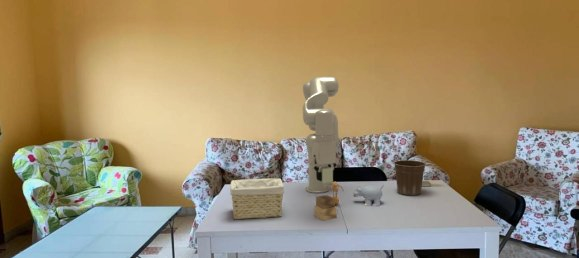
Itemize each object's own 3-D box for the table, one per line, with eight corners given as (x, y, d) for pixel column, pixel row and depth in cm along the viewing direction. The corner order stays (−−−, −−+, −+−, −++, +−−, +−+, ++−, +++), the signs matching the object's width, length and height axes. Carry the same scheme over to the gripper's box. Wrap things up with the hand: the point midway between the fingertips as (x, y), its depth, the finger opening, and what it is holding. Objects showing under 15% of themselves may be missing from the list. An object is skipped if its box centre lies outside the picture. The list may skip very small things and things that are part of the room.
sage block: (326, 179, 174) (326, 165, 174) (332, 181, 170) (332, 167, 169) (317, 180, 172) (316, 167, 171) (323, 182, 168) (323, 169, 167)
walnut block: (327, 203, 176) (327, 194, 176) (334, 207, 171) (334, 198, 170) (316, 205, 174) (316, 196, 173) (322, 209, 168) (322, 200, 168)
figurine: (342, 203, 192) (342, 179, 190) (344, 206, 186) (344, 182, 184) (326, 203, 192) (325, 179, 190) (327, 207, 186) (326, 182, 184)
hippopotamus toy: (353, 199, 198) (353, 180, 197) (383, 199, 196) (383, 181, 194) (353, 205, 188) (353, 186, 186) (385, 206, 185) (385, 187, 184)
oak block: (327, 213, 178) (327, 202, 177) (336, 217, 172) (336, 206, 171) (314, 216, 174) (314, 205, 174) (323, 220, 168) (323, 209, 168)
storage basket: (281, 206, 189) (280, 177, 187) (285, 218, 173) (284, 185, 171) (231, 209, 186) (230, 179, 184) (231, 221, 170) (229, 188, 168)
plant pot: (412, 187, 216) (413, 158, 215) (432, 195, 201) (432, 164, 199) (387, 190, 211) (387, 161, 209) (405, 198, 196) (405, 167, 194)
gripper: (335, 136, 176) (335, 175, 178) (302, 139, 168) (303, 180, 170) (345, 137, 169) (345, 178, 172) (312, 141, 161) (312, 184, 164)
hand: (324, 179), depth 171 cm, fingers closed on sage block, 5 cm apart
